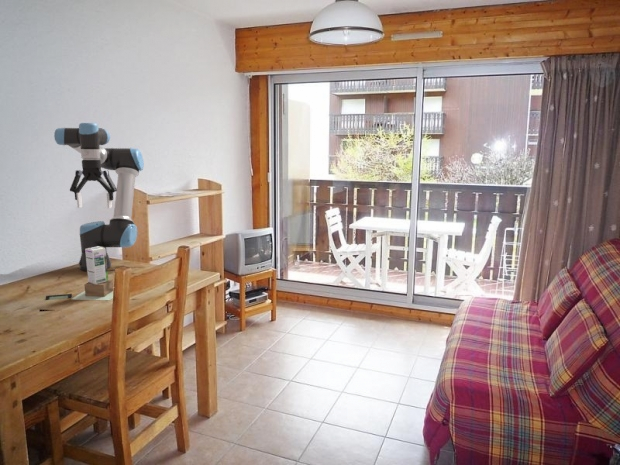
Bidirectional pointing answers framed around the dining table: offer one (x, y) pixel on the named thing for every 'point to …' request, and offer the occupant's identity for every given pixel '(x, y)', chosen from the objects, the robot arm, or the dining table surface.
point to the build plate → (83, 297)
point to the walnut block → (99, 289)
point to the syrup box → (96, 265)
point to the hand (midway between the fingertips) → (95, 207)
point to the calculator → (53, 297)
